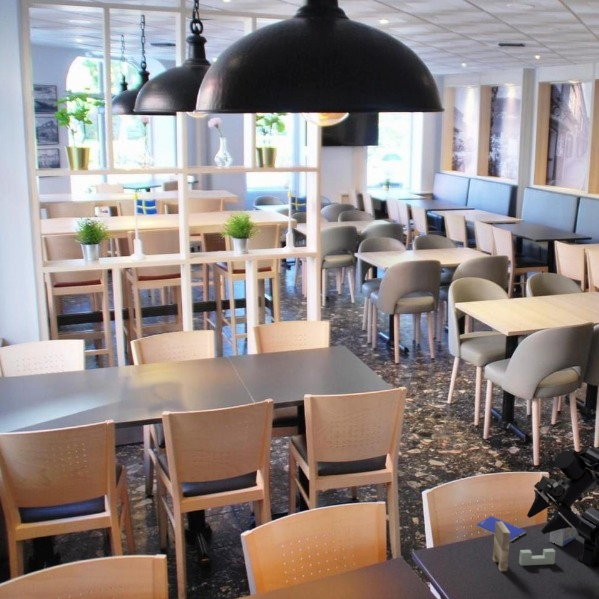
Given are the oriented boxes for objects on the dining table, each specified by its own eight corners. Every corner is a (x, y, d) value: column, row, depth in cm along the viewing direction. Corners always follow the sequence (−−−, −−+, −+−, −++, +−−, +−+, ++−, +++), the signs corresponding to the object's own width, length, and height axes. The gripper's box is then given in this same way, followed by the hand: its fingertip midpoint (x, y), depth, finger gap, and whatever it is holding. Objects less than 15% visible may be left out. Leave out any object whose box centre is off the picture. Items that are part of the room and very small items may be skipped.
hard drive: (476, 523, 250) (510, 538, 241) (491, 515, 255) (525, 530, 246) (476, 528, 250) (510, 543, 241) (491, 519, 256) (525, 534, 247)
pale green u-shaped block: (551, 561, 231) (553, 548, 230) (554, 564, 229) (555, 551, 228) (518, 562, 230) (519, 550, 229) (521, 565, 228) (522, 553, 227)
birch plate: (499, 558, 232) (502, 521, 229) (507, 570, 225) (510, 532, 223) (492, 559, 231) (495, 521, 229) (500, 571, 225) (503, 532, 222)
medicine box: (562, 547, 238) (564, 521, 237) (548, 541, 242) (551, 515, 240) (575, 538, 244) (578, 512, 242) (562, 533, 247) (564, 507, 245)
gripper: (542, 455, 230) (504, 492, 231) (574, 483, 212) (532, 523, 213) (565, 478, 233) (527, 515, 234) (598, 508, 215) (557, 548, 216)
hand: (535, 524), depth 224 cm, fingers open, 9 cm apart
